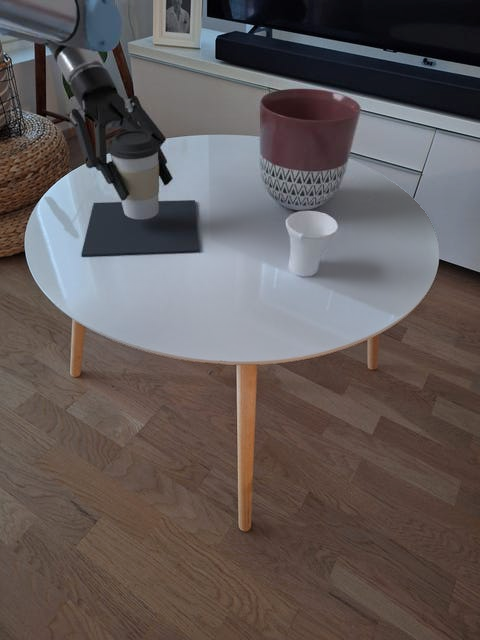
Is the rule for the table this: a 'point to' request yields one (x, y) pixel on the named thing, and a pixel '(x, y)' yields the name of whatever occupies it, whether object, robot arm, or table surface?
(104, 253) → the mat
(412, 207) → the table surface
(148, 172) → the coffee cup
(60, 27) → the robot arm
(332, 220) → the cup
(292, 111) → the planter
